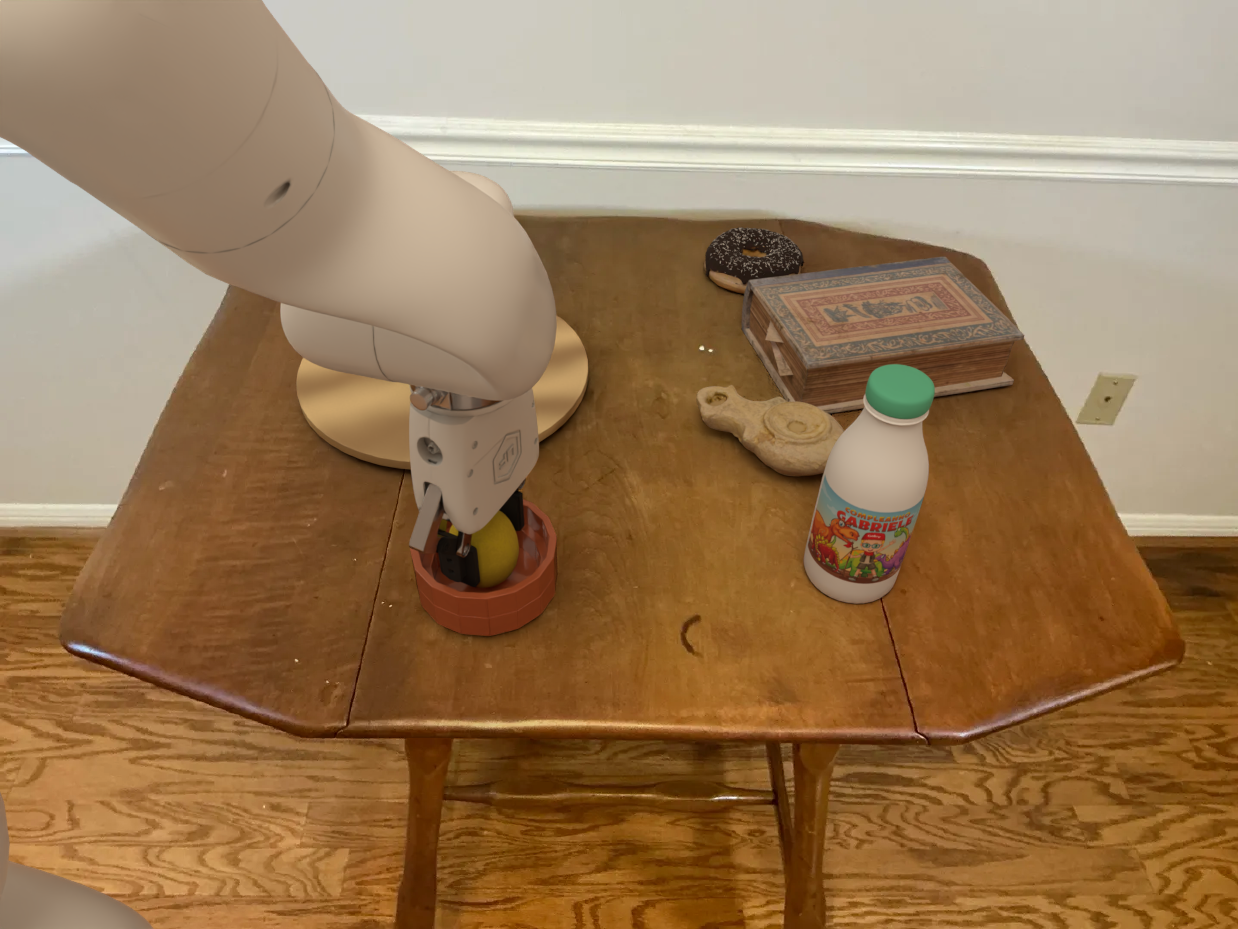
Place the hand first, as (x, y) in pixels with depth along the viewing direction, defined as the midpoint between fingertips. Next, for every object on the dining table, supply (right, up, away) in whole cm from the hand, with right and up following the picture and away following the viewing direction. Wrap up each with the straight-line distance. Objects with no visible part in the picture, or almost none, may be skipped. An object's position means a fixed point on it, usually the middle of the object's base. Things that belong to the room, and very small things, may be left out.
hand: (483, 549), depth 74 cm
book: (+37, +18, +28) cm, 50 cm away
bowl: (0, -3, +3) cm, 4 cm away
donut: (+27, +29, +40) cm, 56 cm away
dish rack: (-7, +16, +22) cm, 28 cm away
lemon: (0, -3, +3) cm, 4 cm away
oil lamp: (+25, +8, +16) cm, 31 cm away
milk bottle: (+30, -2, +5) cm, 30 cm away
